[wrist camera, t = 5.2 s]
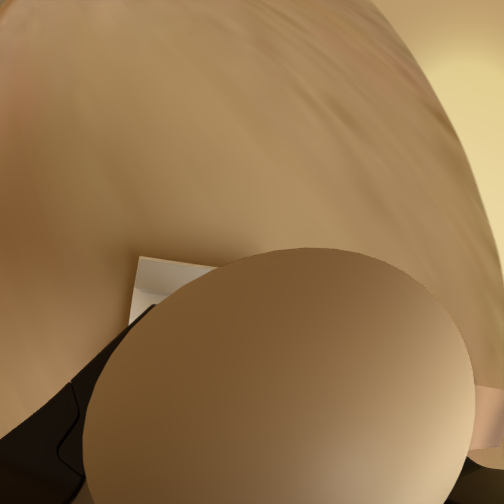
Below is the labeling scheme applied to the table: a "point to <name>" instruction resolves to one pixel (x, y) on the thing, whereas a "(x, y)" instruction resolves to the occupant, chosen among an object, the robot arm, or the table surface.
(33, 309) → the table surface
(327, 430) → the dowel
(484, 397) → the beam
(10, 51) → the table surface
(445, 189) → the table surface
